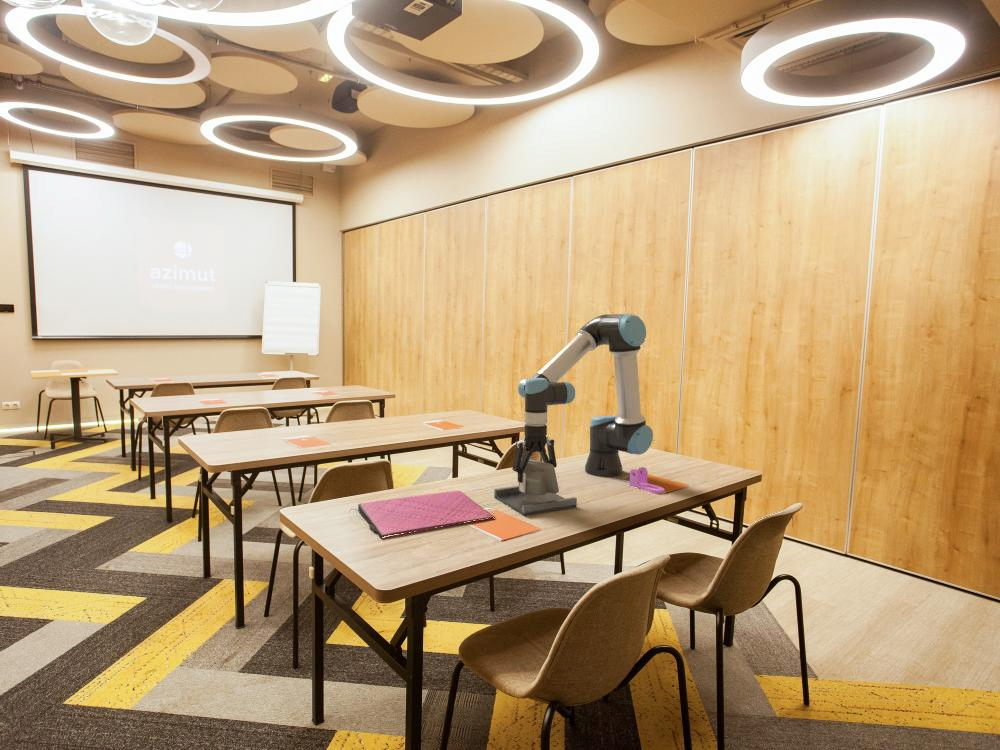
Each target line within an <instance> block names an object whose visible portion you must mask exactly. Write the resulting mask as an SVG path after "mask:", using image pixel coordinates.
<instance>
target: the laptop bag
mask: <svg viewBox="0 0 1000 750" xmlns="http://www.w3.org/2000/svg"><path fill="white" fill-rule="evenodd" d="M357 506H358V507H357V509H356V508H353V510H356V511H358V512H359V511H360V512H359V513H360V514H361V515H362V517H363V516H364V517H365V518H364V517H363V518H364V519H365V520H366V521H367V522H368V524H369V523H370V524H369V525H368V527H369V529H370V528H371V529H372V530H373V531H375V533H376V534H377V533H378V534H379V535H378V534H377V535H378V536H379V537H380V539H381V538H382V537H384V536H388V535H394V534H401V533H409V532H414V531H419V532H422V531H421V530H425V531H427V530H426V529H430V530H432V529H431V528H435V527H441V526H447V527H449V526H448V525H453V524H459V523H464V522H467V521H473V520H479V519H486V518H493V517H494V518H495V519H496V516H494V515H493V514H492V513H490V512H489V511H487V510H486V509H485V508H483V507H482V506H480V504H478V503H476V502H475V501H474V500H472V499H471V498H470V497H469V496H468V495H466V493H464V492H463V491H461V490H452V491H444V492H437V493H436V492H435V493H429V494H419V495H412V496H405V497H403V496H402V497H398V498H397V497H396V498H390V499H383V500H375V501H369V502H368V501H367V502H362V503H358V505H357ZM351 510H352V508H350V510H349V512H348V513H350V511H351ZM464 524H465V523H464ZM459 525H460V524H459ZM453 526H454V525H453ZM441 528H442V527H441ZM371 529H370V530H371ZM372 530H371V531H372ZM373 531H372V532H373ZM414 533H415V532H414ZM409 534H410V533H409Z"/></svg>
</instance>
